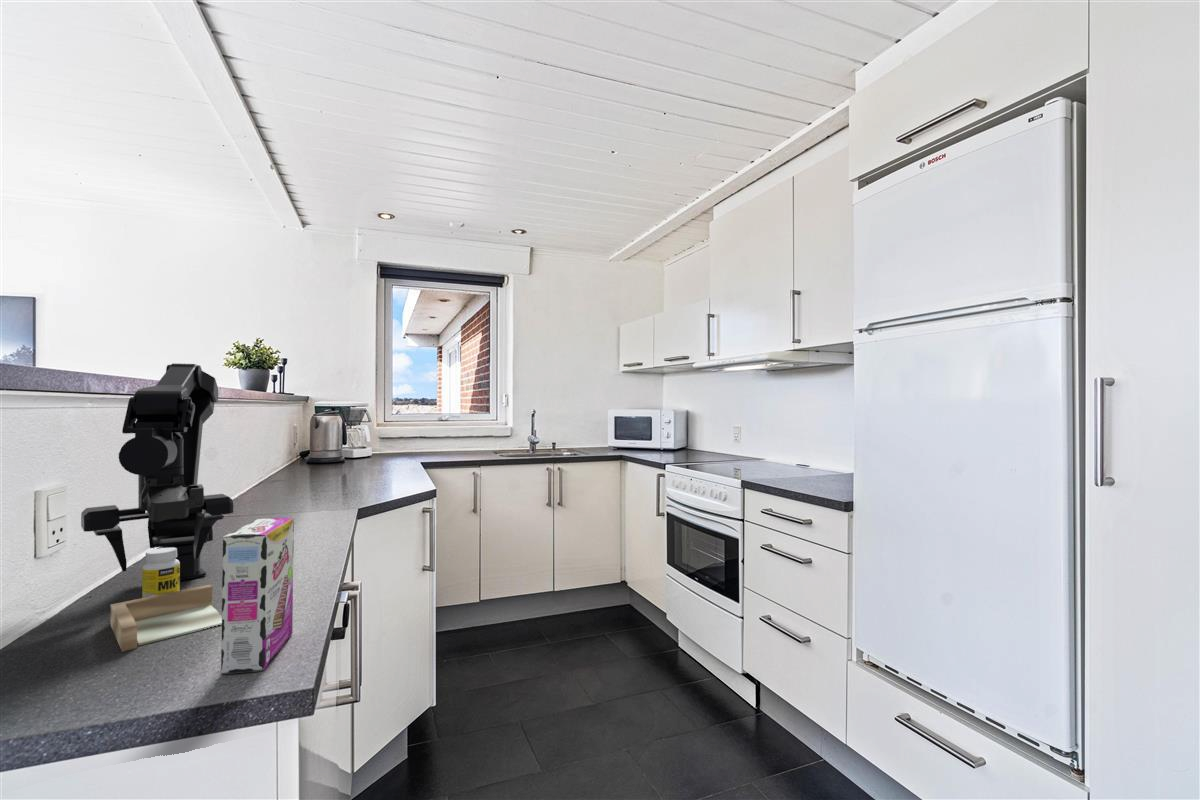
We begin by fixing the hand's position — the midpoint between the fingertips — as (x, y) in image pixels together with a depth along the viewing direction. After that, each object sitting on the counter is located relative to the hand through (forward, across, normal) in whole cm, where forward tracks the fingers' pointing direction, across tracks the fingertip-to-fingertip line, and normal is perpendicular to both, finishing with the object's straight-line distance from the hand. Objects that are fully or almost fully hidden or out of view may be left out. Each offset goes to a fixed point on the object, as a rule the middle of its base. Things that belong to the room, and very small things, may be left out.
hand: (161, 564), depth 90 cm
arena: (+6, 0, -13) cm, 14 cm away
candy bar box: (+6, +5, -32) cm, 34 cm away
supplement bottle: (+6, 0, 0) cm, 6 cm away
